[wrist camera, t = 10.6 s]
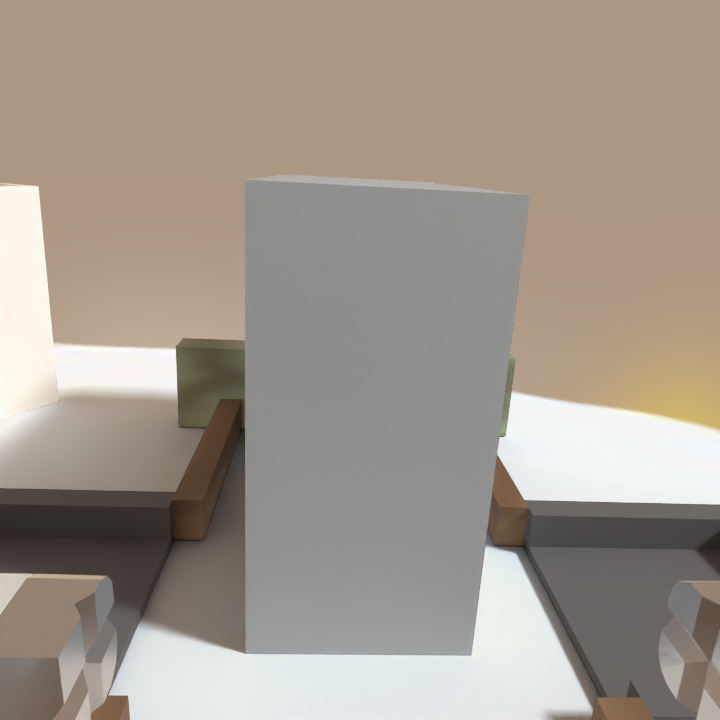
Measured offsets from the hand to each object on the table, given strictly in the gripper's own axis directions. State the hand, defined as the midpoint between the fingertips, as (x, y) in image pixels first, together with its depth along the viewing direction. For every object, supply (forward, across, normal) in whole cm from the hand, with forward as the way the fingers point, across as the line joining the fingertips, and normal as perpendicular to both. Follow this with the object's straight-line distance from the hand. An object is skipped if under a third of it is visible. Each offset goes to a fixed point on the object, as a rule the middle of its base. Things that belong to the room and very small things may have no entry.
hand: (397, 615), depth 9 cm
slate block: (+13, 0, +6) cm, 14 cm away
